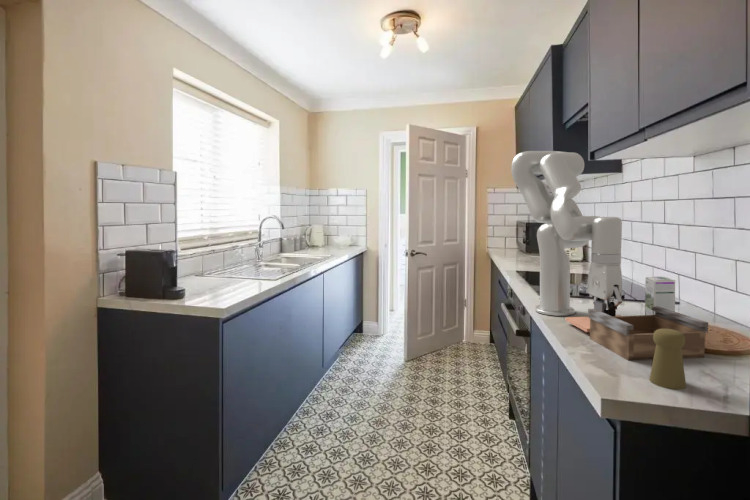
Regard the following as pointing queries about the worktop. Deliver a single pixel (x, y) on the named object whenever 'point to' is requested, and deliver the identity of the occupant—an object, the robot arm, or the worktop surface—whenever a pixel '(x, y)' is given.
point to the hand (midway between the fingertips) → (604, 319)
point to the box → (646, 332)
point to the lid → (585, 321)
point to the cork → (668, 359)
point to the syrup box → (659, 294)
